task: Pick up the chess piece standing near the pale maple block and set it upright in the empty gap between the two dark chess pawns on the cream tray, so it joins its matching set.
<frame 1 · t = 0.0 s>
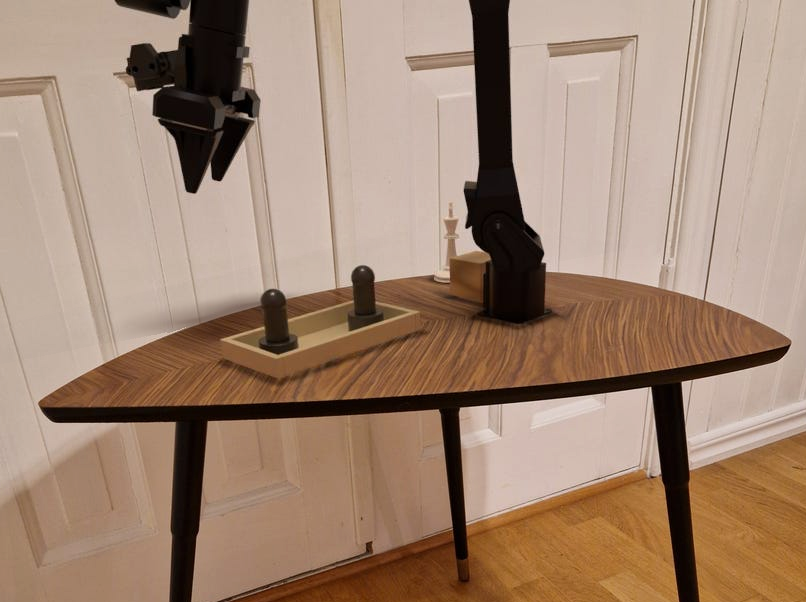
hand: (204, 186, 90), 15 cm above the table, tool pointing down, fingers open, 9 cm apart
maple block: (477, 296, 102), on the table
tray: (325, 347, 87), on the table
pawn b: (280, 357, 83), resting on tray
chess piece: (451, 280, 111), on the table
pawn a: (366, 329, 90), resting on tray
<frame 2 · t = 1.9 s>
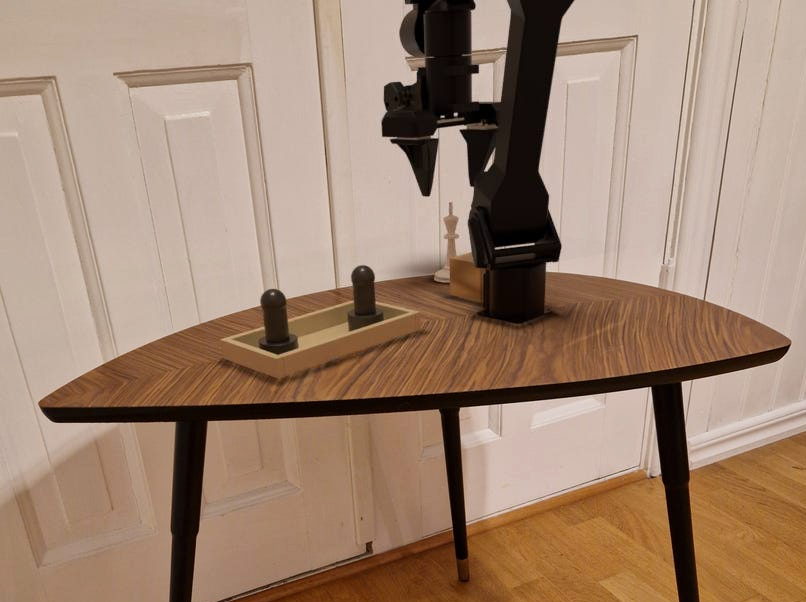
hand: (450, 191, 105), 11 cm above the table, tool pointing down, fingers open, 9 cm apart
nothing on the table moved.
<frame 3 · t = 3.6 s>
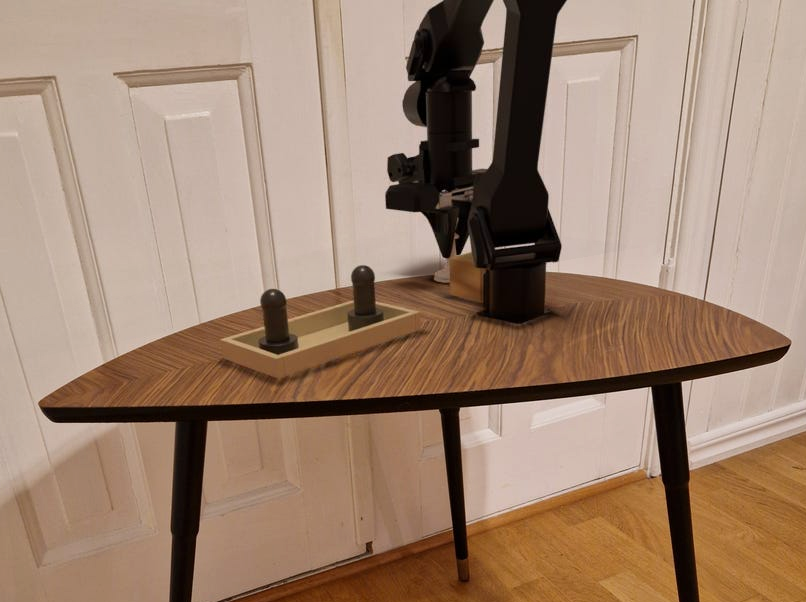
hand: (451, 256, 109), 3 cm above the table, tool pointing down, fingers closed on chess piece
chess piece: (451, 280, 111), on the table, touching gripper
everything else where it was.
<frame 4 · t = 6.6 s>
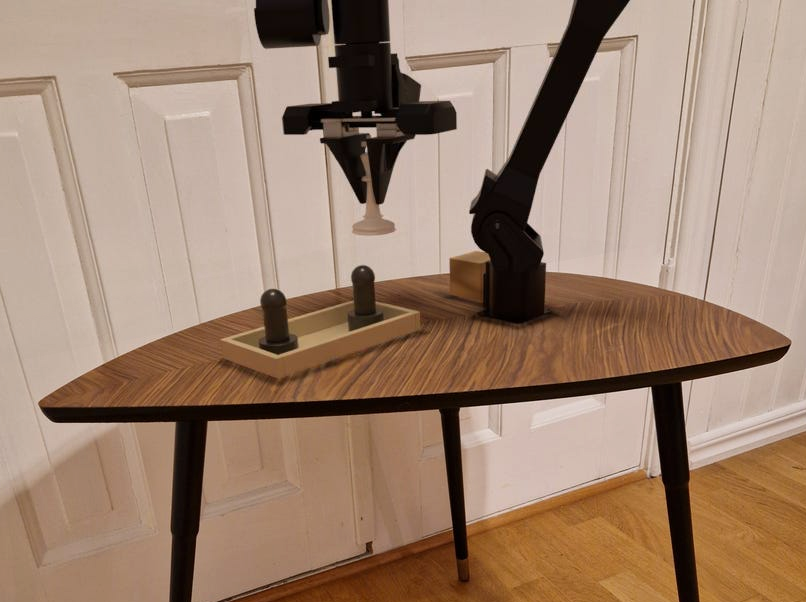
hand: (371, 203, 89), 13 cm above the table, tool pointing down, fingers closed on chess piece
chess piece: (374, 233, 91), point 10 cm above the table, touching gripper
everything else where it was.
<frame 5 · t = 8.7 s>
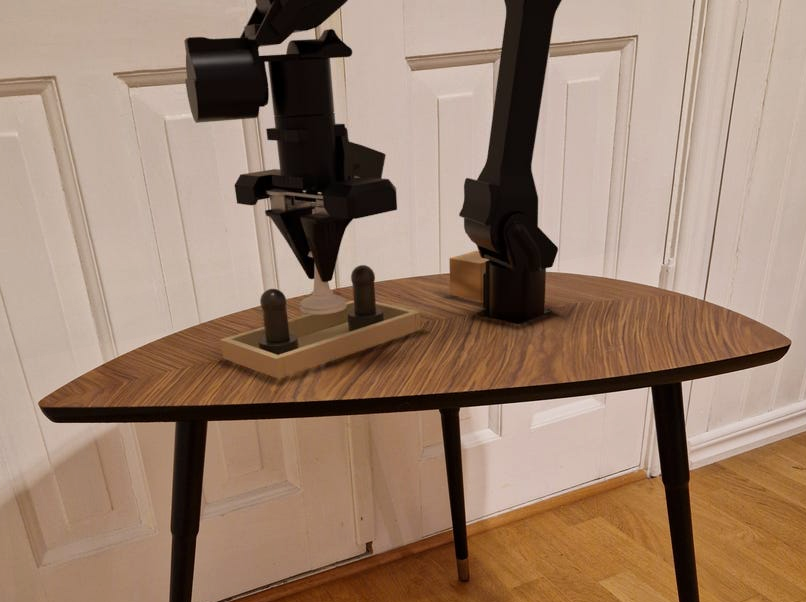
hand: (320, 279, 83), 7 cm above the table, tool pointing down, fingers closed on chess piece
chess piece: (323, 309, 85), point 4 cm above the table, touching gripper
everything else where it was.
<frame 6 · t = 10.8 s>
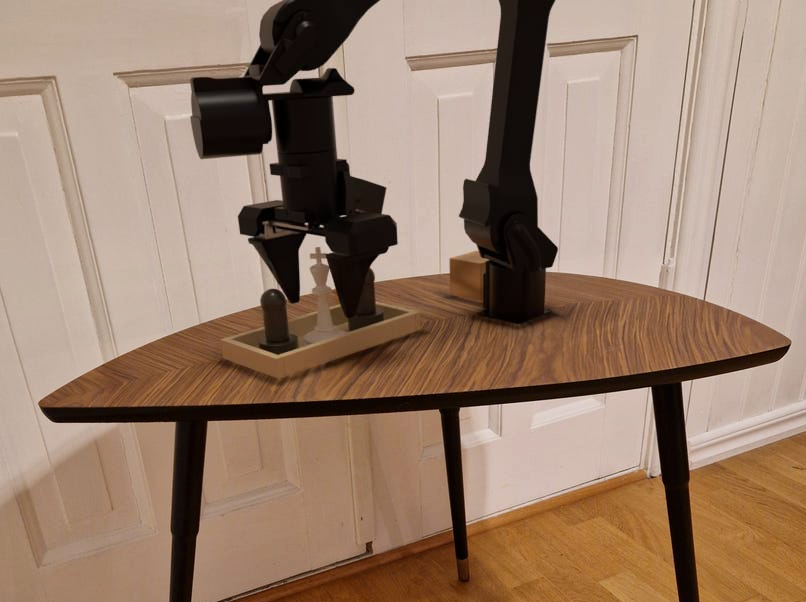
hand: (321, 309, 85), 4 cm above the table, tool pointing down, fingers open, 9 cm apart
chess piece: (326, 344, 87), resting on tray
everything else where it was.
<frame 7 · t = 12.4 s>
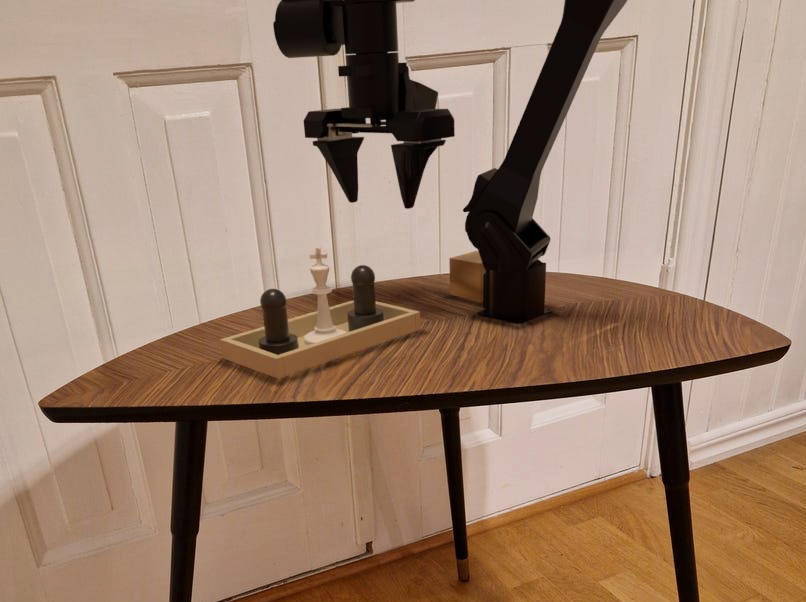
hand: (380, 205, 94), 12 cm above the table, tool pointing down, fingers open, 9 cm apart
nothing on the table moved.
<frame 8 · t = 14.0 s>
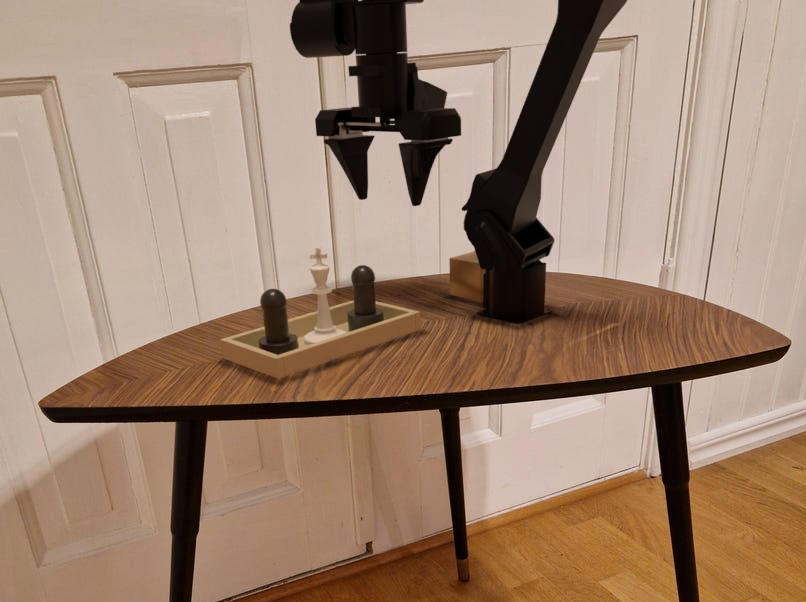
hand: (389, 202, 96), 12 cm above the table, tool pointing down, fingers open, 9 cm apart
nothing on the table moved.
at the end: chess piece 0.2 cm off-centre in the tray, point 0.3 cm above the tray's base; chess piece tilted 0°; pawn a moved 0.0 cm from its start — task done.
